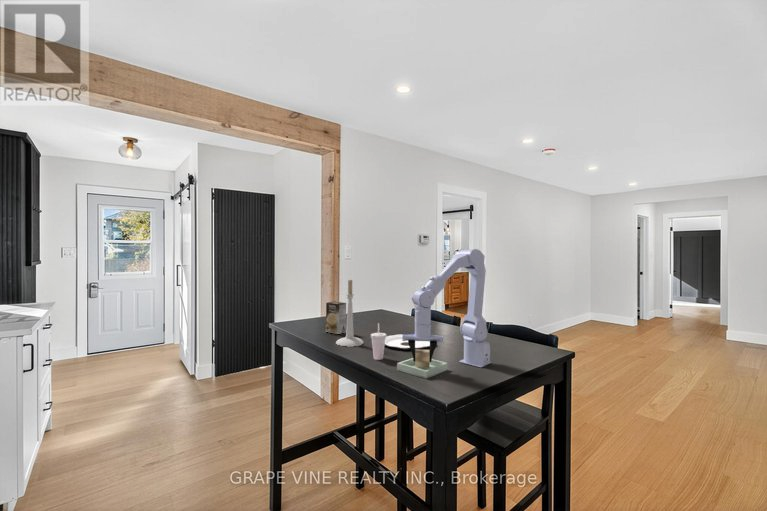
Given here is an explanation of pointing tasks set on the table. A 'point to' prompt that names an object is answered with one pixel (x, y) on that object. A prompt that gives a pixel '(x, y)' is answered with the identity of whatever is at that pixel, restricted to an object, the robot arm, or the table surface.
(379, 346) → the smoothie
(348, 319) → the candlestick
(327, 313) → the coffee box
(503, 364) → the table surface
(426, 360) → the maple cube
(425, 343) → the plate
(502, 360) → the table surface
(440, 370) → the green tray
